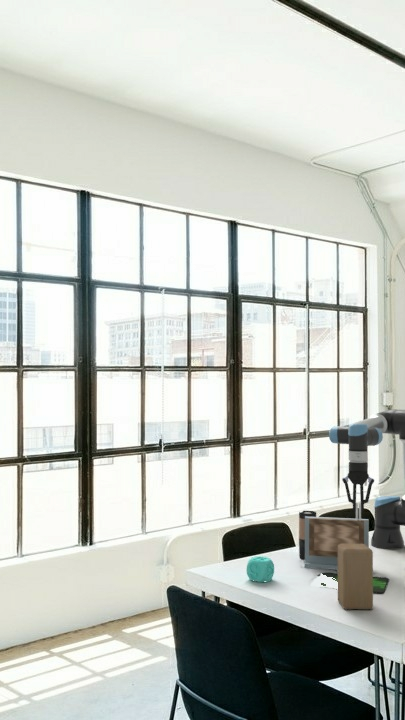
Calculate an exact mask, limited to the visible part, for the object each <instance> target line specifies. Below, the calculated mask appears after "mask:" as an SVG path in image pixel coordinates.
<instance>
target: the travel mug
mask: <svg viewBox="0 0 405 720" xmlns="http://www.w3.org/2000/svg"><path fill="white" fill-rule="evenodd" d="M305 516H306V517H317V511H314V510H303V511H301V512H300V511H298V548H299V549H298V550H299V551H298V552H299V553H298V554H299V555H298V556H299V559H300V560H303V561H305Z"/></svg>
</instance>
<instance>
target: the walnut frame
mask: <svg viewBox="0 0 405 720" xmlns="http://www.w3.org/2000/svg"><path fill="white" fill-rule="evenodd" d="M339 544H364V520H361V521H359V520H358V521H357V520H346V519H325V518H309V556H325V557H338V545H339Z"/></svg>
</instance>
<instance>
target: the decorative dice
mask: <svg viewBox="0 0 405 720" xmlns="http://www.w3.org/2000/svg"><path fill="white" fill-rule="evenodd" d="M274 574H275V564H274V562H273V560H272V559H271V558H269V557H267V556H253V557H251V558H249V560H248V562H247V564H246V575H247V577H248V579H249V580H250V581H251V580H254V581H258V582H257V583H260V582H263V583H265V582H264V581H269V580H270V581H271V580H272V579H273V578H274ZM270 581H269V582H270Z"/></svg>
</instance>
